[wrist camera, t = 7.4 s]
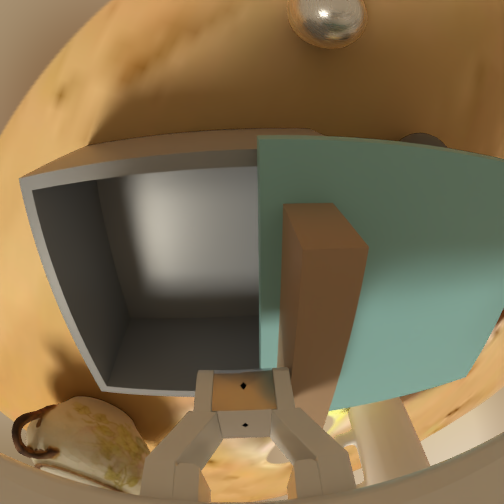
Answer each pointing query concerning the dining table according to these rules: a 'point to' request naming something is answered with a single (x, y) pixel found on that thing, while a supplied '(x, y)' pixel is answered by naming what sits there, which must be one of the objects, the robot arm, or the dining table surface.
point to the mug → (384, 441)
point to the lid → (375, 265)
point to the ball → (423, 139)
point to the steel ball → (327, 21)
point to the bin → (155, 254)
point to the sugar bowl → (85, 443)
